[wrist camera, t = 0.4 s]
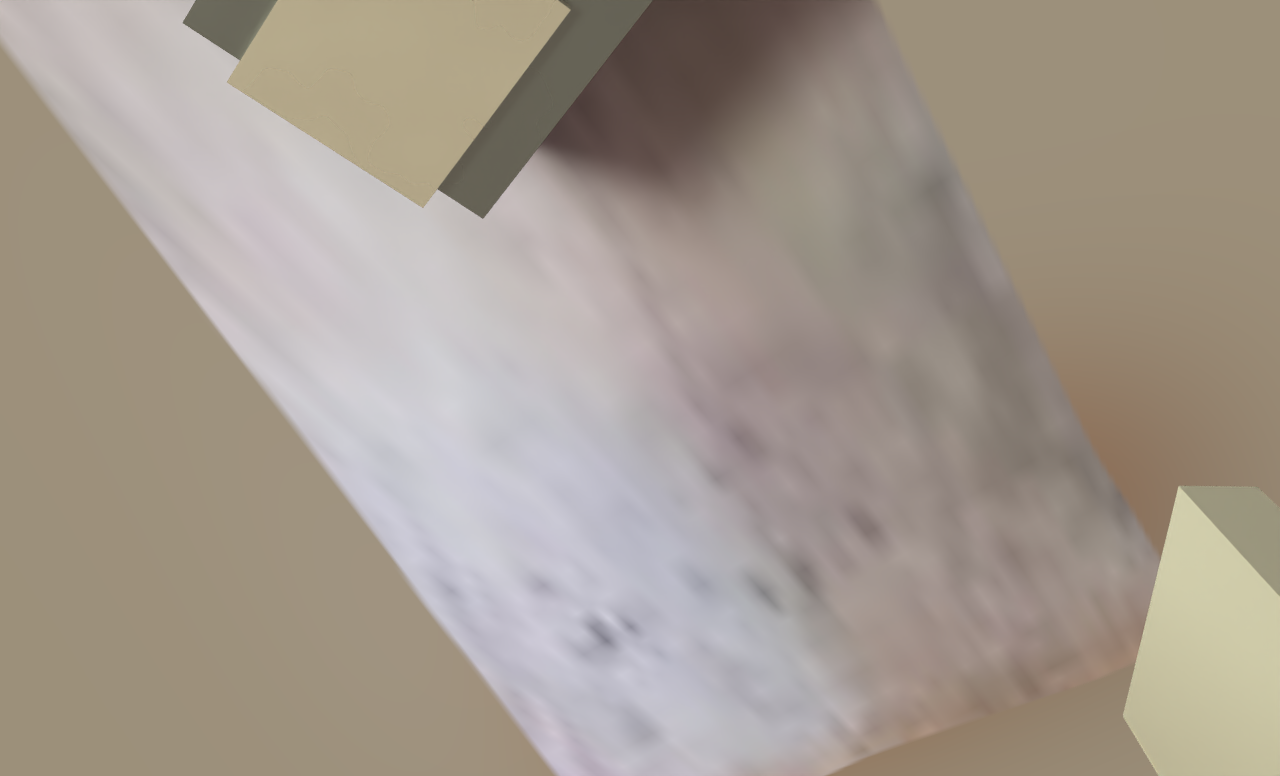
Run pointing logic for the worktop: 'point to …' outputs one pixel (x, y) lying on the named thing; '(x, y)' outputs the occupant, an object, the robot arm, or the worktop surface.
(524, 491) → the worktop surface
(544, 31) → the drawer cabinet
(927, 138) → the worktop surface
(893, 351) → the worktop surface
